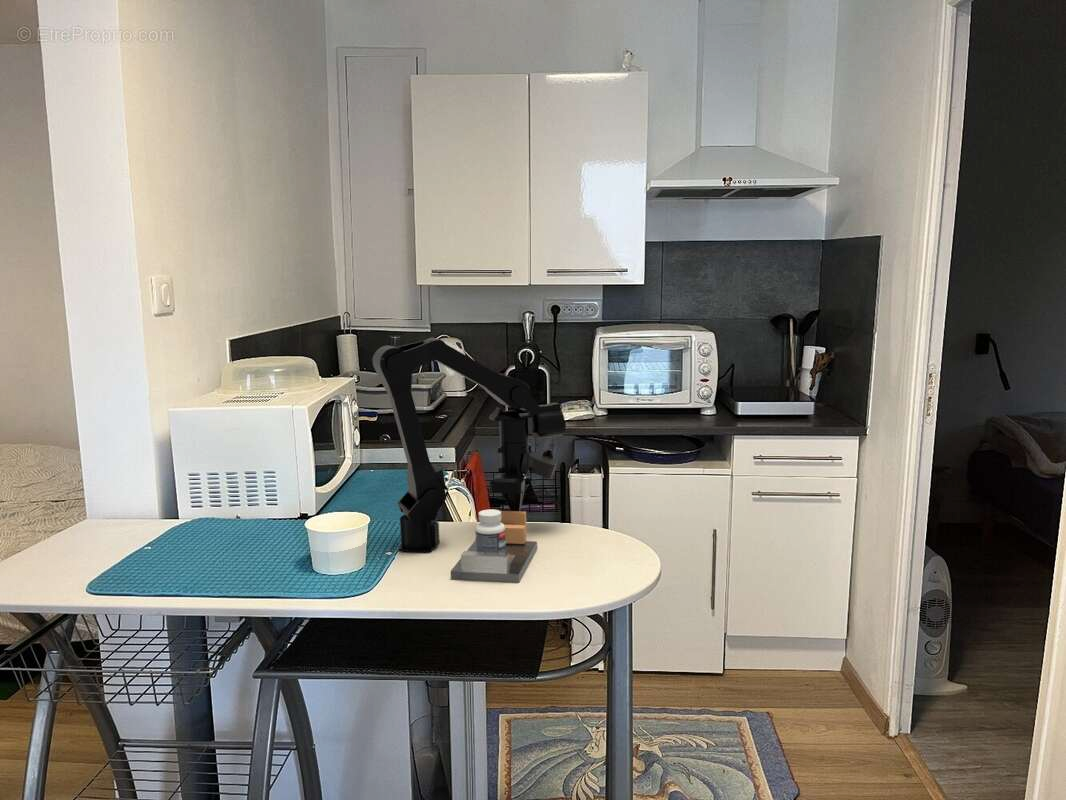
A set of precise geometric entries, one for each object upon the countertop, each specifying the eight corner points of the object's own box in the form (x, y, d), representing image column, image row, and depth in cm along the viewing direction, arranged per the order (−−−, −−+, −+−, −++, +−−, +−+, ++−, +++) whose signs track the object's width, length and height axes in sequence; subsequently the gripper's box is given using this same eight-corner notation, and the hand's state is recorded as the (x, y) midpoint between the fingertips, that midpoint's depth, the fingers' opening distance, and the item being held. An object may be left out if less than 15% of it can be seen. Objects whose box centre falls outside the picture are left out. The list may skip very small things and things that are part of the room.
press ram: (482, 542, 150) (481, 522, 150) (492, 529, 158) (491, 510, 157) (524, 543, 149) (523, 523, 148) (531, 531, 156) (531, 511, 155)
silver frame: (450, 579, 137) (449, 554, 136) (476, 546, 153) (475, 524, 153) (518, 582, 135) (518, 557, 134) (537, 549, 151) (536, 526, 150)
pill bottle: (504, 566, 138) (502, 517, 137) (474, 566, 139) (472, 517, 137) (508, 555, 143) (506, 508, 142) (479, 555, 144) (477, 508, 142)
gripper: (545, 451, 148) (547, 531, 151) (561, 432, 167) (562, 504, 169) (487, 450, 151) (490, 529, 153) (509, 431, 169) (511, 502, 171)
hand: (516, 515), depth 161 cm, fingers closed
